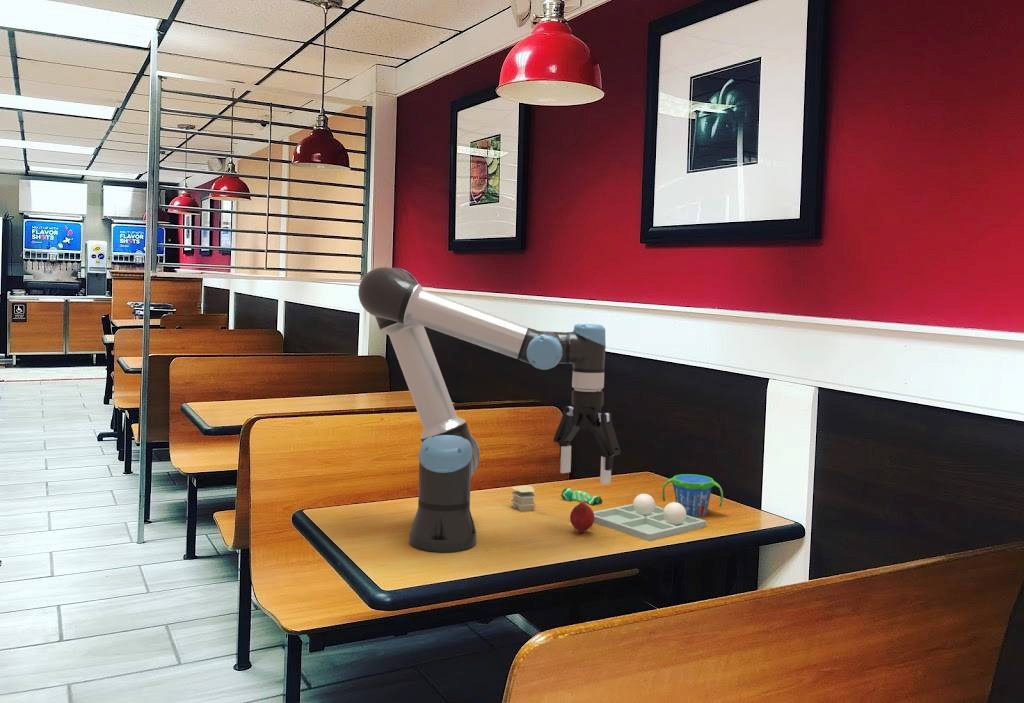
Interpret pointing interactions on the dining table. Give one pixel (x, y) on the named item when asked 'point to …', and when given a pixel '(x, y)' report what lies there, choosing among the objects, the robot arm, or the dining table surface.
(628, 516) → the egg tray
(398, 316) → the robot arm
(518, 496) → the layered cracker stack
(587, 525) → the onion
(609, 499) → the dining table surface
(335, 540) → the dining table surface
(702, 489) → the snack cup
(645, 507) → the egg far left
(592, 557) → the dining table surface
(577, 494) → the candy
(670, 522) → the egg far right
